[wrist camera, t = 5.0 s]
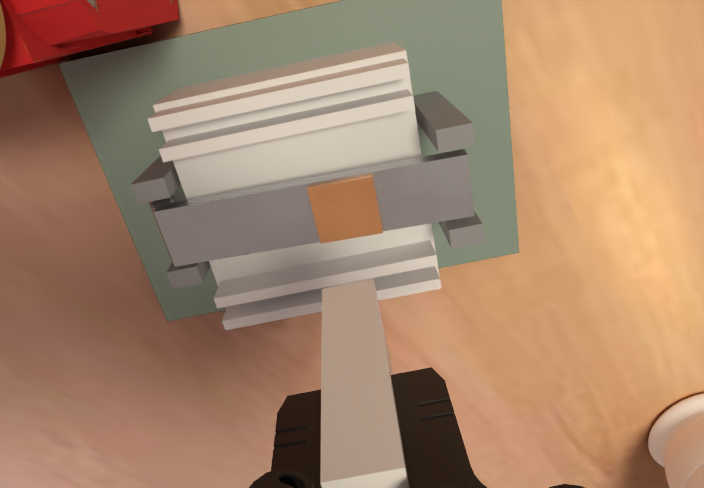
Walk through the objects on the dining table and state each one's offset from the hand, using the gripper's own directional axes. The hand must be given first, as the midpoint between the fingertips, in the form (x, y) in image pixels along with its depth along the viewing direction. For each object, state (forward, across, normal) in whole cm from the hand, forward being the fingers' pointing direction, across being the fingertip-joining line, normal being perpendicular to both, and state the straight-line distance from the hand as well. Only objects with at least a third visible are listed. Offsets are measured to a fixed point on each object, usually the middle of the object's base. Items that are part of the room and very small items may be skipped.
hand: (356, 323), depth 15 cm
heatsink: (+19, -2, 0) cm, 19 cm away
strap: (+12, -2, 0) cm, 12 cm away
